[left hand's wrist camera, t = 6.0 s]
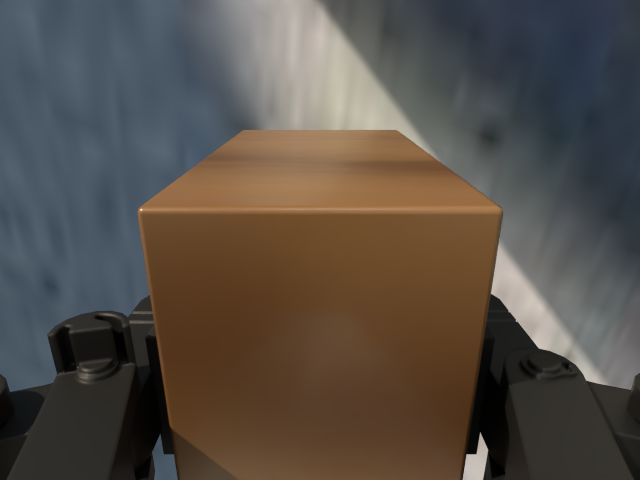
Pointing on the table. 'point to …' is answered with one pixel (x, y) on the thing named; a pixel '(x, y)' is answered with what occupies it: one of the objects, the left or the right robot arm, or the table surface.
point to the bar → (320, 307)
